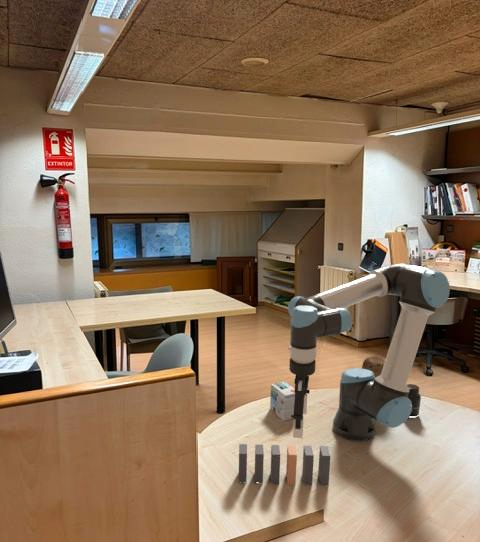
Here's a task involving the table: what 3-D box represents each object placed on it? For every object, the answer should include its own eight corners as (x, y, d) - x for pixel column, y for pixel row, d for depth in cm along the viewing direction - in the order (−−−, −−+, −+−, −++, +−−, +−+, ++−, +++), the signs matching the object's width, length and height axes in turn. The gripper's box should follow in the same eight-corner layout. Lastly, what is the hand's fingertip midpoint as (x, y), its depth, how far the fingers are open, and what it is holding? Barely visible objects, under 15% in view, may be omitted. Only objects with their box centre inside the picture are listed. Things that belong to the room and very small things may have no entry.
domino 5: (309, 474, 143) (311, 445, 141) (312, 484, 138) (313, 455, 136) (302, 474, 143) (303, 445, 141) (304, 484, 138) (305, 455, 136)
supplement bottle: (416, 420, 176) (419, 392, 173) (398, 415, 179) (401, 387, 177) (420, 413, 182) (423, 385, 179) (402, 408, 185) (405, 381, 183)
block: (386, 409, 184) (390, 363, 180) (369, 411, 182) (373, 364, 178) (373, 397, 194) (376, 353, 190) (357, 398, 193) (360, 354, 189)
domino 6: (325, 474, 143) (327, 446, 141) (328, 485, 138) (330, 455, 136) (318, 474, 143) (319, 445, 141) (320, 485, 138) (322, 455, 136)
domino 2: (262, 473, 143) (263, 444, 141) (262, 483, 138) (263, 454, 136) (254, 473, 143) (255, 444, 141) (254, 483, 138) (255, 454, 136)
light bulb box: (269, 408, 183) (270, 383, 181) (283, 405, 186) (284, 380, 184) (283, 421, 174) (284, 395, 172) (298, 417, 177) (299, 392, 175)
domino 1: (246, 472, 143) (247, 444, 141) (246, 483, 138) (247, 453, 136) (238, 472, 143) (239, 444, 141) (238, 483, 138) (239, 453, 136)
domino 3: (278, 473, 143) (279, 445, 141) (279, 484, 138) (280, 454, 136) (270, 473, 143) (271, 444, 141) (271, 483, 138) (272, 454, 136)
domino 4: (293, 473, 143) (295, 445, 141) (295, 484, 138) (296, 455, 136) (286, 473, 143) (287, 445, 141) (287, 484, 138) (288, 454, 136)
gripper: (294, 342, 145) (292, 403, 150) (284, 375, 122) (282, 446, 126) (318, 344, 144) (315, 406, 148) (312, 378, 120) (309, 450, 124)
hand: (300, 424), depth 137 cm, fingers open, 13 cm apart
